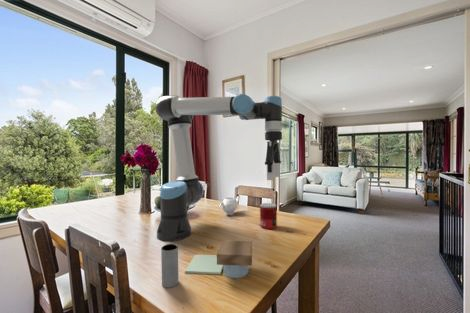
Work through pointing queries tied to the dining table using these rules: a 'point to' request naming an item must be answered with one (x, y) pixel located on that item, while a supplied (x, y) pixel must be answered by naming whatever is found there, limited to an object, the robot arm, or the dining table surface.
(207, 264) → the mat
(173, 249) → the grey cylinder
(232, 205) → the teapot
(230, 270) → the bowl
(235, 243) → the cover
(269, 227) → the canned food
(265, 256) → the dining table surface
